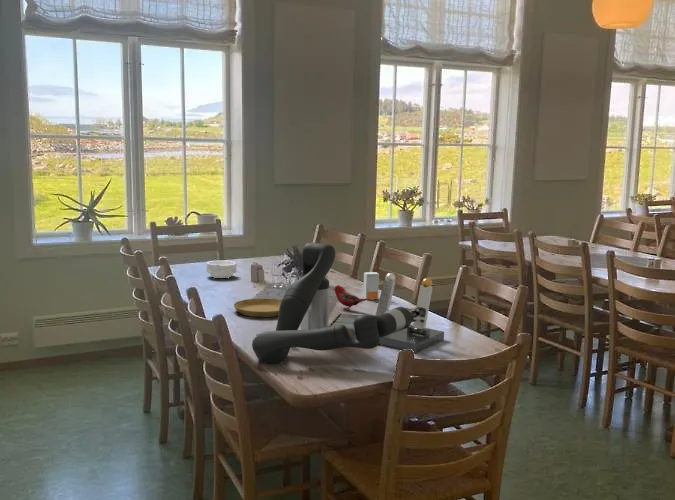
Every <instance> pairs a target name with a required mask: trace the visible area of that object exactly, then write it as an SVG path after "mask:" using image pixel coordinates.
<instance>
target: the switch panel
mask: <svg viewBox="0 0 675 500" xmlns="http://www.w3.org/2000/svg"><path fill="white" fill-rule="evenodd" d="M412 326H413V324H410V326H409V327H408V328H406V329H403V330H401V331H399V332H396V333H392V334H389V335H387V336H385V337H379V338H380V343H379V344H378V346H379V345H380V346H384V347H388V348H392V349H397V350H401V349H412V350H413V351H414V352H415V354H417V353H419V352H422V351H424V350H426V349H428V348H429V347H431V346H432V347H433V346H434V345H436V344H438V343H440V342H442V341H444V340H445V331H443V330H437V329H433V328H428V327H425V330H424V336H423V335H418V334H414V333H411V332H410V330H411V327H412ZM351 335H352V336H351V337H352V338H355V339H356V334H355V329H354V328H353V329H352V333H351ZM414 352H413V353H414Z"/></svg>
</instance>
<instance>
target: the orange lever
mask: <svg viewBox="0 0 675 500" xmlns="http://www.w3.org/2000/svg"><path fill="white" fill-rule="evenodd" d="M419 286H420V287H419V292H418V296H417V303H416V307H415V308H418V307H422V308H423V313H424V314H425V320H424V322H421V321H419V320H417V321H415V322H412V323H413V324H412V325H413V326H412V327H411V330H410V332H411V333H414V334H418V335H423V336H424V330H425V328H427V327H426V325H427V320H428V315H429V309H430V305H431V304H430V303H431V299H432V293H433V281H432V279H431V278H430V277H425V278H424V279H422V281H421V284H420V285H419Z"/></svg>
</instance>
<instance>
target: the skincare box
mask: <svg viewBox="0 0 675 500" xmlns="http://www.w3.org/2000/svg"><path fill="white" fill-rule="evenodd" d="M379 283H380V273H378V272H376V271H375V272H374V271H371V272H369V271H368V272H367V271H366V272H363V290H362V292H363V293H362V299H369V301H370V300H374V299H378V300H379V286H380V285H379ZM374 301H375V300H374Z"/></svg>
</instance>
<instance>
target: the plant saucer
mask: <svg viewBox="0 0 675 500" xmlns="http://www.w3.org/2000/svg"><path fill="white" fill-rule="evenodd" d="M281 301H282V299H279V298H269V297H267V298H263V297H262V298H259V297H257V298H248V299H243V300H238V301H237V302H234V304H233V308H234V309H235V311H237V313H239V314H241V315H243V316H246V317H253V318H274V317H278V314H279V308H280V304H281Z"/></svg>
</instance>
